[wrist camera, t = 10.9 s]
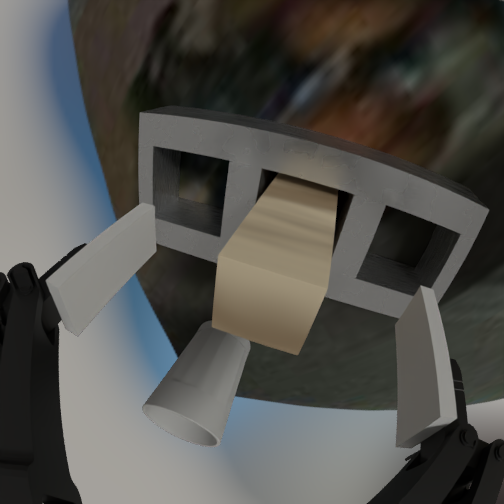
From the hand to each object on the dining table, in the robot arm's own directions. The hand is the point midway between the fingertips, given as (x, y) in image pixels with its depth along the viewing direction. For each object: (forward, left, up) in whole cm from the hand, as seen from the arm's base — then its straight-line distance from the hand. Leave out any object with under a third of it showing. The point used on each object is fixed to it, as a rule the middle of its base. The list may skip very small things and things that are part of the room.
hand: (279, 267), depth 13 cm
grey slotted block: (0, 0, -9) cm, 9 cm away
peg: (0, 0, -9) cm, 9 cm away
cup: (+19, -4, -10) cm, 22 cm away
